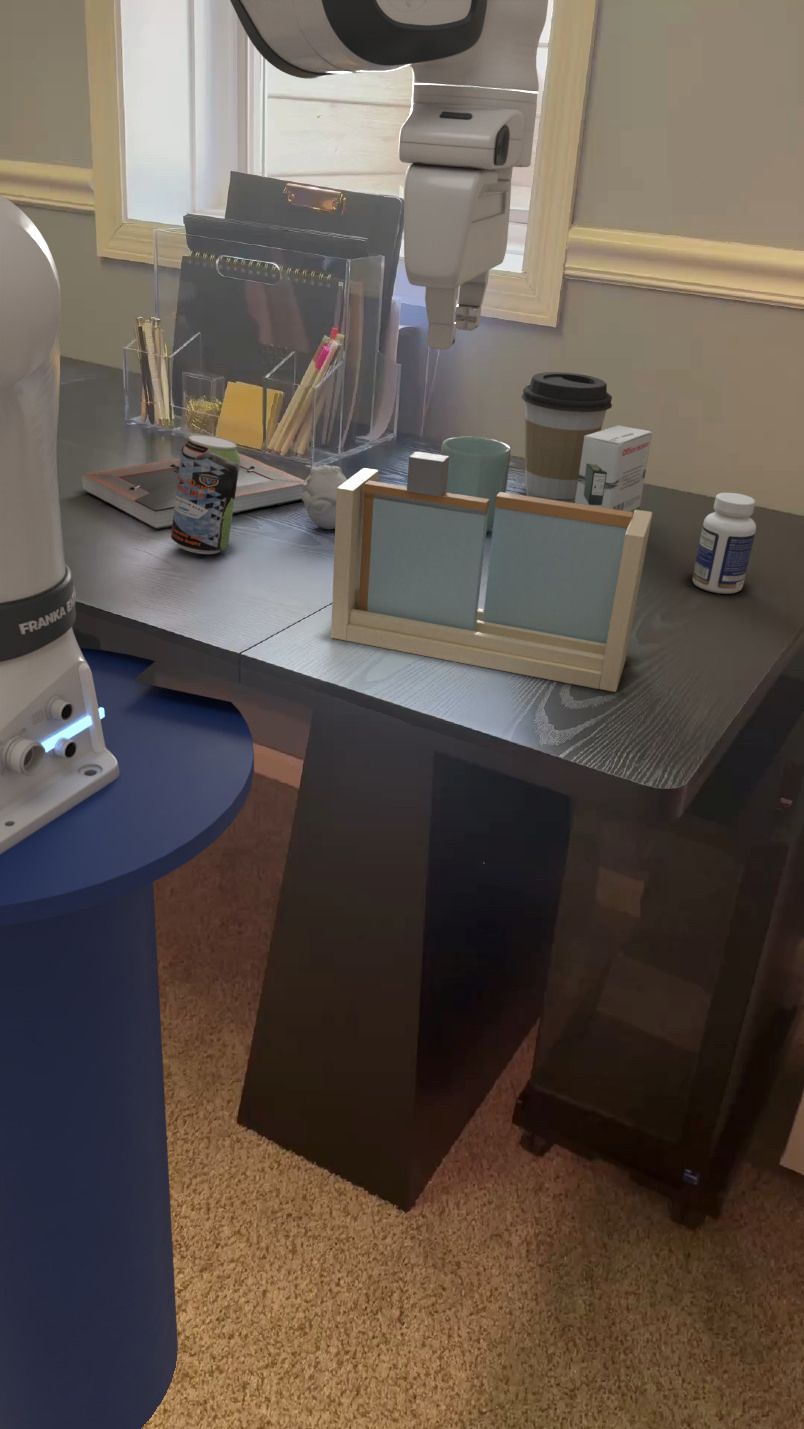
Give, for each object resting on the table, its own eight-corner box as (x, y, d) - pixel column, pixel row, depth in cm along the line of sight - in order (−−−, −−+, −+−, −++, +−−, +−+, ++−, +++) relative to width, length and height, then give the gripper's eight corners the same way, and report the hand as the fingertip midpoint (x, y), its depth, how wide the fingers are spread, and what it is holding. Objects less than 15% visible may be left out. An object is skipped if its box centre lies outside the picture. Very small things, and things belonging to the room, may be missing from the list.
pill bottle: (745, 583, 119) (765, 496, 114) (737, 599, 114) (758, 509, 110) (696, 572, 120) (714, 487, 116) (686, 588, 116) (704, 499, 111)
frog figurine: (339, 515, 130) (341, 457, 126) (364, 534, 124) (367, 474, 121) (291, 520, 127) (292, 461, 124) (315, 539, 122) (317, 478, 118)
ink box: (602, 517, 136) (618, 422, 130) (638, 527, 133) (655, 430, 128) (568, 532, 130) (582, 433, 124) (604, 543, 127) (621, 442, 122)
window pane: (470, 641, 96) (489, 468, 89) (356, 620, 99) (364, 450, 92) (476, 633, 98) (494, 462, 91) (363, 612, 101) (372, 444, 93)
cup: (474, 545, 123) (483, 458, 119) (421, 527, 128) (428, 443, 123) (513, 531, 129) (523, 447, 124) (462, 514, 133) (470, 432, 128)
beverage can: (161, 546, 117) (156, 434, 111) (219, 535, 121) (218, 427, 115) (191, 564, 113) (188, 449, 107) (251, 552, 117) (251, 441, 111)
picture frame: (156, 531, 121) (309, 500, 134) (155, 510, 119) (310, 480, 133) (82, 492, 131) (232, 467, 144) (81, 472, 130) (231, 448, 143)
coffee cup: (613, 500, 143) (632, 383, 136) (566, 517, 135) (584, 394, 128) (541, 479, 149) (556, 366, 142) (492, 494, 141) (505, 376, 134)
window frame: (615, 692, 93) (644, 534, 86) (330, 638, 99) (336, 485, 92) (625, 660, 99) (653, 509, 92) (356, 610, 105) (363, 465, 98)
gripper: (458, 134, 87) (444, 315, 94) (392, 131, 70) (380, 354, 76) (536, 140, 86) (516, 323, 93) (488, 138, 68) (468, 365, 75)
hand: (454, 337), depth 84 cm, fingers open, 8 cm apart
